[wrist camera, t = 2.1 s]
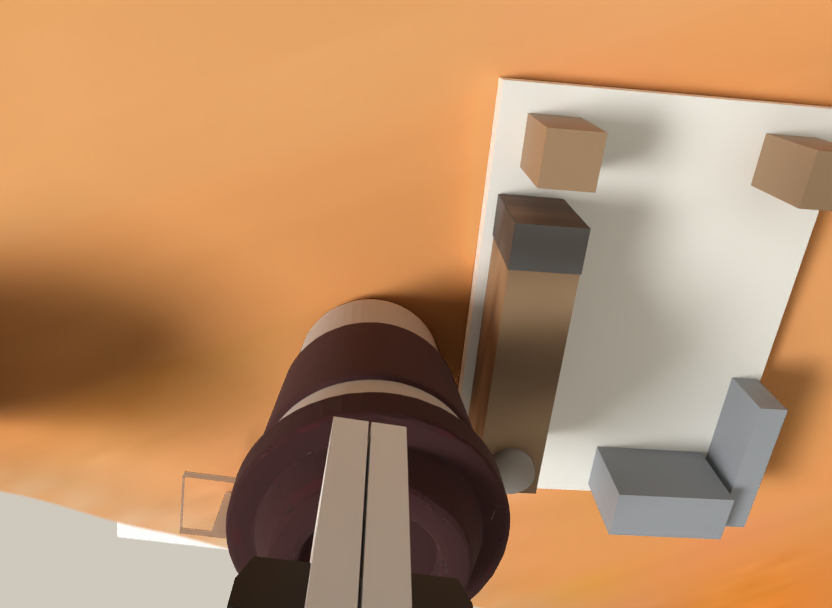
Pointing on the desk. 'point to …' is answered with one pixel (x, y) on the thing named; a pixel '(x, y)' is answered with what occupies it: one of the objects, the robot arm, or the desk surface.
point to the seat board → (662, 287)
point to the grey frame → (151, 535)
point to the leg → (525, 330)
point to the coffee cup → (375, 402)
